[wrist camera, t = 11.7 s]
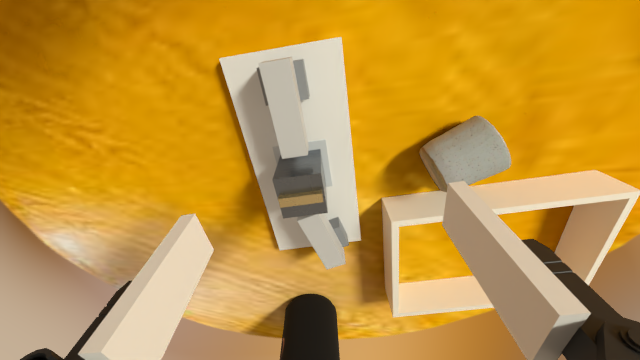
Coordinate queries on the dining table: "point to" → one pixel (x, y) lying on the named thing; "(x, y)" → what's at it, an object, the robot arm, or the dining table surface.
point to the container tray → (505, 197)
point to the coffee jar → (310, 329)
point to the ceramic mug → (466, 153)
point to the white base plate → (299, 136)
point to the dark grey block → (301, 185)
